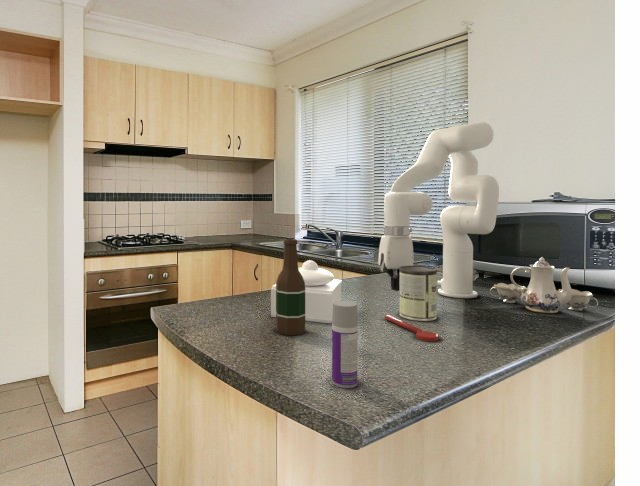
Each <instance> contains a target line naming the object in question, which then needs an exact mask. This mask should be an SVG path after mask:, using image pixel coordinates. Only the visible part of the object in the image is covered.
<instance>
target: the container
mask: <svg viewBox="0 0 640 486" xmlns="http://www.w3.org/2000/svg"><path fill="white" fill-rule="evenodd" d="M358 334H359V330H358V303H356V302H354V301H350V300H341V301H335V302H333V312H332V322H331V383H332V384H333V385H334V386H336V387H339V388H341V389H353V388H355V387H357V386H358V357H359V355H358V354H359V353H358V347H359V346H358Z"/></svg>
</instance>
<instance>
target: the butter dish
mask: <svg viewBox="0 0 640 486" xmlns="http://www.w3.org/2000/svg"><path fill="white" fill-rule="evenodd" d="M298 269H299V272H300V273H301V275H302V277H303V279H304V282H305V322H315V323H325V324H332V312H333V302H335V301H342V283H343V280H342V279H335V276H334V274H333V273H332V272H331V271H329V270H326V269H324V268H319V266H318V264H317V263H316V262H315V261H314V260H312V259H308V260H306V261H304V262H303V263H302V266H301V267H298ZM270 317H271V318H276V283H275V284H273V285H272V286H271V288H270Z"/></svg>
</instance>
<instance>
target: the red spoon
mask: <svg viewBox="0 0 640 486" xmlns="http://www.w3.org/2000/svg"><path fill="white" fill-rule="evenodd" d="M384 319H385V320H386V321H388V322H391V323H392V324H395V325H397V326H399V327H401V328H404V329H405V330H408V331H410V332H412V333H414V334H415V337H416V339H418V340H421V341H423V342H437V341H439V334H437V333H436V332H432V331H427V330H423V329H421V328H419V327H416V326H414V325H412V324H410V323H408V322H405V321H403V320H400V319H398V318H396V317H394V316H392V315H389V314H385V315H384Z"/></svg>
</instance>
